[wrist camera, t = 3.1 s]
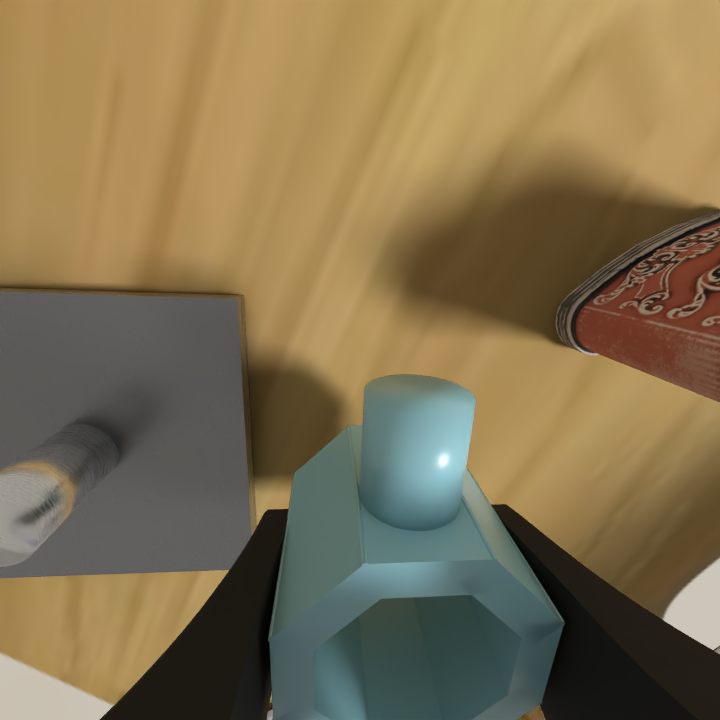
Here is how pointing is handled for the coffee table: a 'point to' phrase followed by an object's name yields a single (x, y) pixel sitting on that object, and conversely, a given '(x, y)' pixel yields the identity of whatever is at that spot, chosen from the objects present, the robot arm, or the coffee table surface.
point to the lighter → (655, 307)
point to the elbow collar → (405, 576)
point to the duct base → (123, 432)
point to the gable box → (717, 650)
